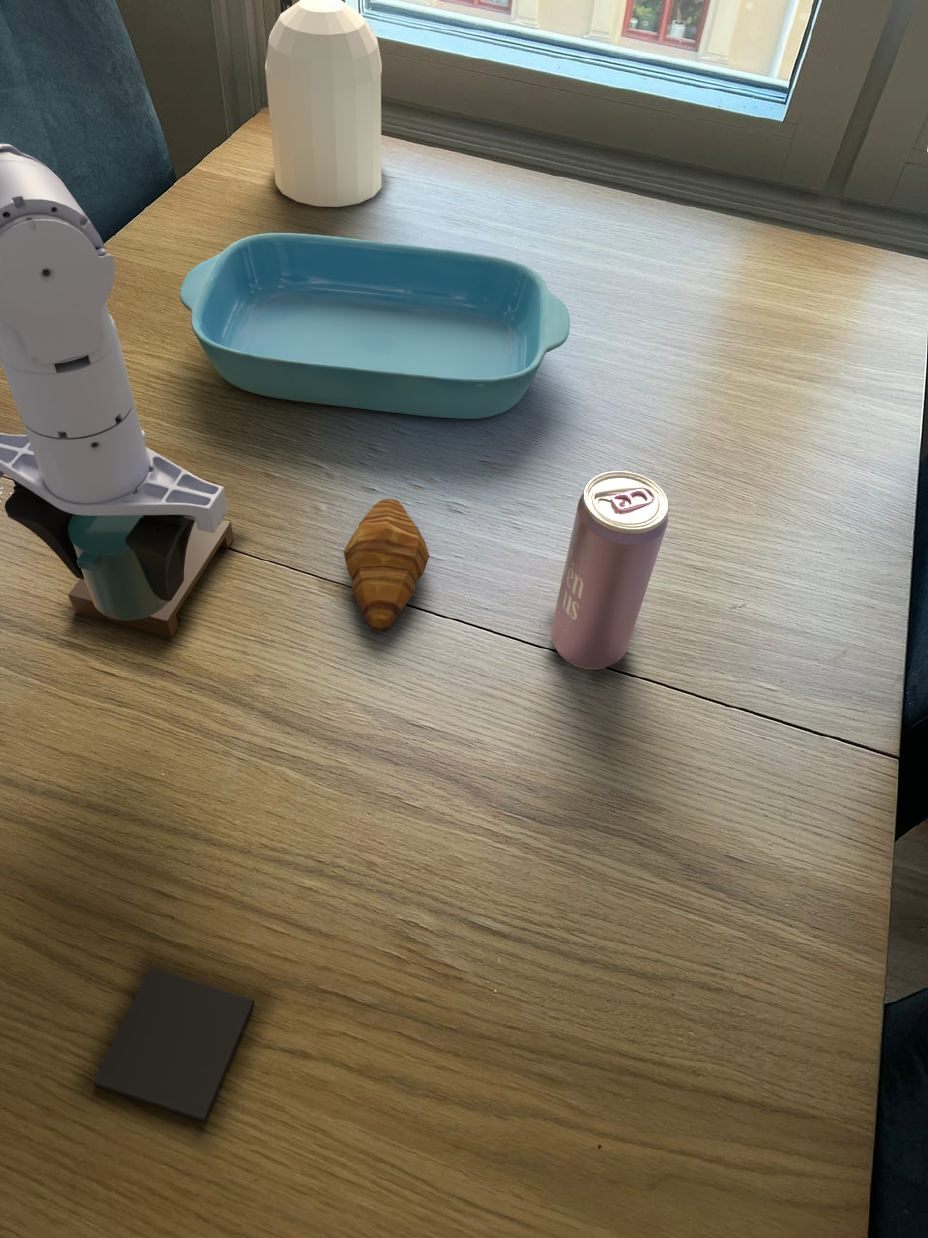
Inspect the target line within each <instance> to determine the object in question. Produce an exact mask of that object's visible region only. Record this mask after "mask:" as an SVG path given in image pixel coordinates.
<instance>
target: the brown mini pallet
mask: <svg viewBox="0 0 928 1238" xmlns="http://www.w3.org/2000/svg"><path fill="white" fill-rule="evenodd" d="M232 527H233V525H232V522H231V521H230V520H226V519H223V521H222V522H221V524H220V525H219V526H218V528H217V529H216V531H215V533H209V532H205V531H201V530H199V529H198V528H197V523H196V520H195V523H194V525H193V528H192V531H191V534H190V537H189V541H188V545H187V550H186V556H185V565H184V581H183V583H182V585H181V586H180V588H179V589H178V591H177V592H176V594H175V595H174V597H173V599H172V600H171V601H169V602H168V604H167V605H166V606H165V607H164V608H162V609H161V610H160V611H158V612H157V613H155V614H153V615H151V616H148V617H145V618H142V619H137V620H117V619H113V618H110V617H108V616H105V615H104V614H102V613H101V612H100V611H99V610H98V609H97V608H96V607H95V605H94V603H93V601H92V598H91V596H90V593H89V590H88V587H87V585H86V582H85V580H83V579H78V581H77V582H76V583H75V585H74V586H73V587H72V589H71V590H70V591H69V593H68V594H67V596H68V598H69V601H70V603H71V606H72V608H73V610H74V611H73V612H75V613H76V614H77V613H78V614H82V615H85V616H88V617H93V618H96V619H99V620H104V621H107V622H108V621H109V622H112V623H115V624H120V625H123V626H126V627H130V628H134V629H138V630H141V631H145V632H150V633H152V634H156V635H160V636H164V637H168V638H173V637H174V635H175V634H176V632H177V630H178V629H179V623H178V618H177V614H178V612H179V610H180V609H181V607H182V606H183V604H184V602H185V601H186V600H187V598H188V596H189V595H190V593H191V592H192V590H193V588H194V587H195V586H196V584H197V582H198V581H199V579H200V577H201V576H202V574H203V572H204V571H205V570H206V568H207V567H208V565H209V563H210V562H211V560H212V558H213V557H214V556H215V554H216V552H217V551H218V549H219V547H220V548H224V549H229V547H230V546H231V544H232V543H233V541H234V533H233V528H232Z"/></svg>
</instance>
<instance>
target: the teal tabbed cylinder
mask: <svg viewBox="0 0 928 1238" xmlns="http://www.w3.org/2000/svg"><path fill="white" fill-rule="evenodd" d="M141 517H143V515H115V516H83V515H76V514H74V515H73V516H72V517H71V519H70V521H69V525H68V535H69V538H70V541H71V544H72V546H73V549H74V552H75V555H76V557H77V563H78V566H79V568H81V571H82V574H83V576H84V579H85V582H86V585H87V587H88V590H89V593H90V596H91V598H92V601H93V603H94V605H95V607H96V608H97V609H98V610H99V611H100V612H101V613H102V614H104V615H105V616H108V617H110V618H113V619H117V620H137V619H142V618H145V617H148V616H151V615H153V614H155V613H157V612H158V611H160V610H161V609H162V608H164V607H165V606H166V605H167V604H168V601H165V600H161V599H159V597H158V596H157V594H156V593H155V591H154V588H153V585H152V582H151V579H150V576H149V573H148V570H147V568H146V567H145V565H144V563H143V562H142V560H141V559H140V557H139V556H138V555H137V554H136V552H135V551H134V550H132V549H131V548H130V547H129V546H127V545H126V542H125V538H126V537H127V536H128V534H129V533H130V532H131V530H132V529H133V527H134V526H135V525H136V523H137V522H138V521H139V519H140V518H141Z"/></svg>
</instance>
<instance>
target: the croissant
mask: <svg viewBox="0 0 928 1238" xmlns="http://www.w3.org/2000/svg"><path fill="white" fill-rule="evenodd" d="M343 555H344V560H345V561H344V562H345V564H346V569H347V572H348V573H349V576H350V578H351V579H352V586H351V591H352V594H353V596H354V597H355V600H356V602H357V604H358V606H359V609H360V611H361V612H362V614H363V615H364V617H365V619H366V620H367V622H368V626H369V627H370V629H371V630H373V631H376V632H385V631H389V630H390V628H391V627H392V626H393V624H394V622H395V621H396V619H397V618H398V616H399V615H400V613H401V612H402V611H403V609H404V608H405V606H406V605H407V603H408V602H409V600H410V599H411V598H412V597H413V595H414V593H415V588H416V583H417V582H418V581H419V579H420V578H421V577H422V576H423V575H424V572H425V570H426V567H427V564H428V561H429V559H430V553H429V550H428V547H427V543H426V541H425V539H424V537H423V535H422V534H421V532H420V530H419V527H418V526H417V525H416V523H415V522H414V521H413V520H412V519H411V517H410V516H409V514H408V512H407V511H406V509H405V507H404V505H403V504H402V503H400V501H399V500H398V499H394V498H384V499H381V500H379V501H378V502H377V503H375V504H374V505H373V506H372V508H371V509H370V510H369V511H368V513H367V514H366V515H365V517H364V518H363V519H362V520H361V522H360V523H359V524H358V528H357V529H356V530H355V531H354V533H353V534H352V536H351V537H350V539H349V540H348V543H347V544H346V546H345V548H344V550H343Z"/></svg>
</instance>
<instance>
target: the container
mask: <svg viewBox="0 0 928 1238" xmlns="http://www.w3.org/2000/svg"><path fill="white" fill-rule="evenodd" d="M382 64H383V63H382V58H381V53H380V46H379V41H378V38H377V36H376V35H375V33H374V31H373V30H372V28H371V27H370V25H369V23H368V22H367V20H366V18H365V17H364V16H363V15H362V14H360V13H359V11H357V10H356V9H355V8H353V7H352V6H350V5H349V4H347V3H346V2H344V1H343V0H299V1H297V2H295V3H293V5H291V6H290V7H289V8H287V9H286V10H284V11H283V12H281V13H280V14H279V16H278V18H277V20H276V22H275V23H274V25H273V28H272V29H271V31H270V33H269V37H268V42H267V52H266V59H265V66H264V71H265V81H266V93H267V104H268V115H269V127H270V136H271V147H272V148H271V149H272V158H273V159H272V160H273V170H274V180H275V181H274V182H275V186H276V187H277V189H278V190H279V191H280V193H281V194H282V195H284V196H286V197H288V198H289V199H291V200H293V201H295V202H297V203H301V204H306V205H309V206H314V207H327V208H328V207H329V208H331V207H332V208H341V207H345V206H352V205H359V204H360V203H363V202H365V201H367V200H370V199H372V198H374V197H375V196H376V195H377V194H378V192H380V191H381V189H382V73H383V65H382Z"/></svg>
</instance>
